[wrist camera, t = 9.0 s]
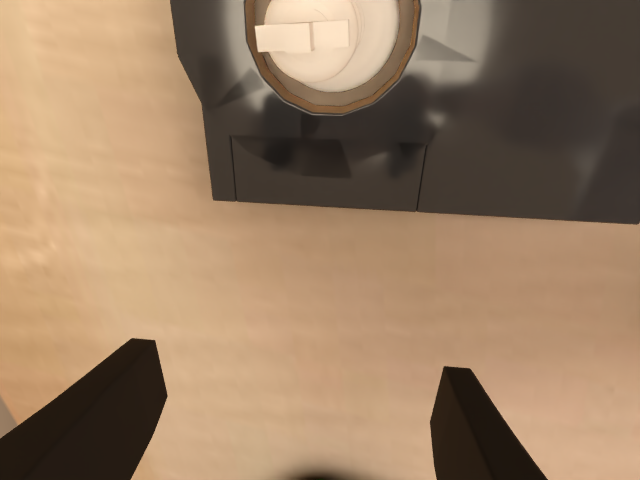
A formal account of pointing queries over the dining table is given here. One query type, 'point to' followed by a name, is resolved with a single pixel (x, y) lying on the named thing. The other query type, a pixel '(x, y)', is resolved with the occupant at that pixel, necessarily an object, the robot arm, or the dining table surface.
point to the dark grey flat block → (436, 114)
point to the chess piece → (330, 40)
